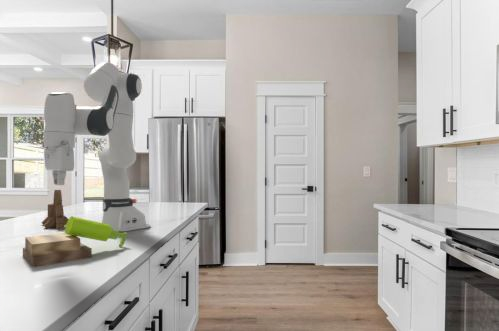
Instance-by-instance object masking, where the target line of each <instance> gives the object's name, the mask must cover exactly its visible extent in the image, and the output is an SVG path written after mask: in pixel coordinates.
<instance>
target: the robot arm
mask: <svg viewBox="0 0 499 331" xmlns="http://www.w3.org/2000/svg"><path fill="white" fill-rule="evenodd" d="M83 88H84V92H85V93H86V95H87V96H88V97H89V98H90V99H92V100H93V101H94V102H97V103H101V104H100V105H98V106H78V105H77V104H76V103H75V98H74V95H73V94H72V93H70V92H50V93H48V94H47V95H46V97H45V102H44V107H43V108H44V109H43V119H44V124H45V126H44V130H43V141H42V148H43V149H44V151H43V152H44V154H43V155H44V167H45V170H46V171H51V172H52V180H53V185H54V186H55V185H56V186H57V185H58V186H64V185H65V179H66V176H67V172H71V171H74V169H75V153H74V149H75V147H76V135H77V136H78V135H79V136H82V135H83V136H89V135H90V136H100V137H101V136H102V137H105V136H108V146H105V147H104V148H103V149H102V150H100V152H99V155H98V160H99V162H100V165H101V172H102V176H103V198H102V211H103V212H102V213H103V214H102V220H101V223H104V224H109V225H111V229H115V230H118V231H119V232H128V231H134V230H141V229H146V228H147V229H148V228H151V224H150V223H148V222H147V219H146V215H145V213H144V212H142V211H141V210H140V209H138V208H137V207H136V206H134V204H136V203H137V202H138V200H137V198H131V197H130V179H129V177H128V175H127V170H126V169H127V168H129V167H131V166H132V165H134V164H135V163H136V161H137V152H136V151H135V148H134V141H133V123H134V122H133V121H134V101H135V99H137V98H138V97H139V96H140V94H142V93H141V92H142V90H143V89H142V88H143V86H142V80H141V78H140V76H139V75H138V74H135V73H132V72H130V73H128V72H127V73H126V72H122V71H120V70H119V68H118V67H117V65H115V64H113V63H111V62H108V61H105V62H101V63H100V64H98V65H96V66H95V67H94V68H93V69H92V70H91V71H90V72H89V73H88V75H87V76H86V77H85V79H84V82H83Z"/></svg>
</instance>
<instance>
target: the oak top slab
mask: <svg viewBox="0 0 499 331" xmlns="http://www.w3.org/2000/svg"><path fill="white" fill-rule="evenodd" d="M24 238H25V239H24V240H25V241H24V243H25V244H24V245H25V246H24V248H26V250H27V251H28V252H29V253H30V255H31V256H39V255H46V254H53V253H60V252H67V251H74V250H80V243H81V237H79V236H73V235H68V234H65V232H63V233H53V234H42V235H34V236H32V235H31V236H25V237H24Z"/></svg>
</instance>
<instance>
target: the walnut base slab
mask: <svg viewBox="0 0 499 331" xmlns="http://www.w3.org/2000/svg"><path fill="white" fill-rule="evenodd" d="M92 252H93V250H92V248H91V247H89V246H88V245H85V244H83V243H81V242H80V250H74V251H67V252H60V253H53V254H46V255H39V256H31V255H30V253H29V252H28V251H27V250H26V248H25V247H22V258H24V259H25V260H26V261H27V263H29V264H30V266H32V268H35V267H43V266H47V265H48V266H49V265H54V264H59V263H66V262H72V261H78V260H84V259H90V258H92Z"/></svg>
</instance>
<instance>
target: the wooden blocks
mask: <svg viewBox="0 0 499 331" xmlns="http://www.w3.org/2000/svg"><path fill="white" fill-rule="evenodd" d="M53 191H54V192H53V203H48V204H47V216H46V217H45V219H43V220H42V221H41V224H42V225H43V227H44V228H46V229H48V228H50V229H51V228H53V227H54V228H55V229H56V228H57V229H56V231H60V230H59V229H62V230H65V226H66V224H67V221H68V220H69V218H68V217H67V216H65V214H64V206H63V196H62V189H54V190H53ZM54 225H55V226H54ZM52 226H53V227H52Z"/></svg>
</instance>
